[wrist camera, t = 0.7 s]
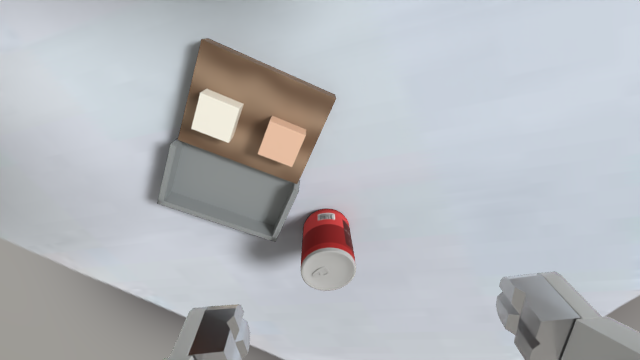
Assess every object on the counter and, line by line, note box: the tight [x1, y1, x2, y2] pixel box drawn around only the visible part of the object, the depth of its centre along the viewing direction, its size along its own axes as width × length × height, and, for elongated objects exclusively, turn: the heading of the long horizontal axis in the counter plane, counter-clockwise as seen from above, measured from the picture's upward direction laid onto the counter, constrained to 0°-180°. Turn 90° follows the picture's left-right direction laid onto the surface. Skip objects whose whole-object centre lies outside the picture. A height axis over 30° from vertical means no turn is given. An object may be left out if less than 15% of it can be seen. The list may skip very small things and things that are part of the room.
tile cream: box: [191, 89, 244, 143], centre depth 40 cm, size 5×5×2 cm
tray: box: [157, 138, 300, 242], centre depth 48 cm, size 10×19×4 cm, turn 67°
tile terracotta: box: [258, 116, 306, 167], centre depth 42 cm, size 5×5×2 cm
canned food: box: [301, 209, 356, 291], centre depth 48 cm, size 8×8×11 cm
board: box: [178, 38, 336, 184], centre depth 43 cm, size 14×18×2 cm
